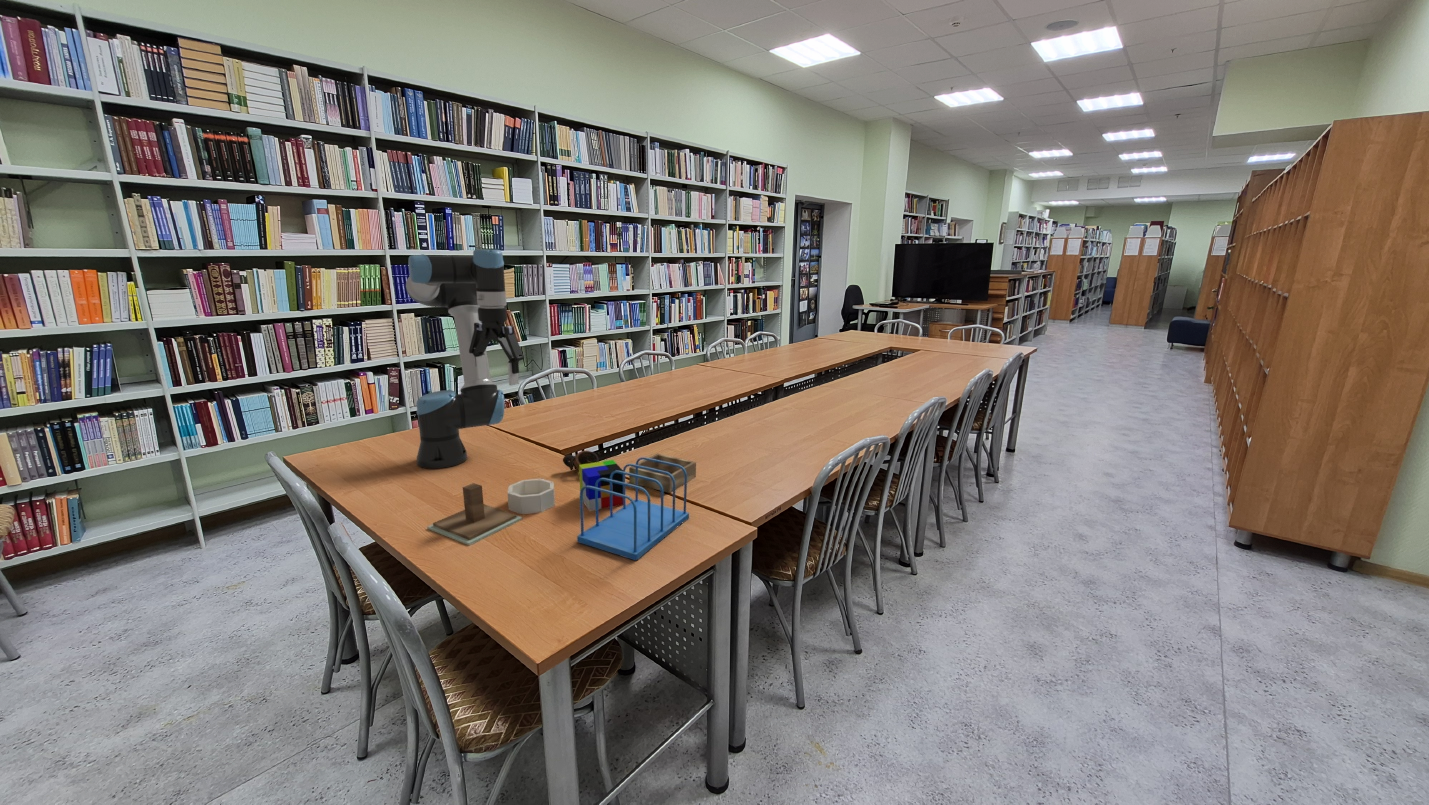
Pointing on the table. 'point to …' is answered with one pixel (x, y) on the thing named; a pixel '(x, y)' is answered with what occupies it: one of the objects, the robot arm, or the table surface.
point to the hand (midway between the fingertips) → (497, 381)
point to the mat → (476, 537)
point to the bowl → (531, 496)
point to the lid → (474, 516)
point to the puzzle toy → (600, 483)
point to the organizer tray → (662, 478)
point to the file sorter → (633, 518)
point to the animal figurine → (578, 459)
